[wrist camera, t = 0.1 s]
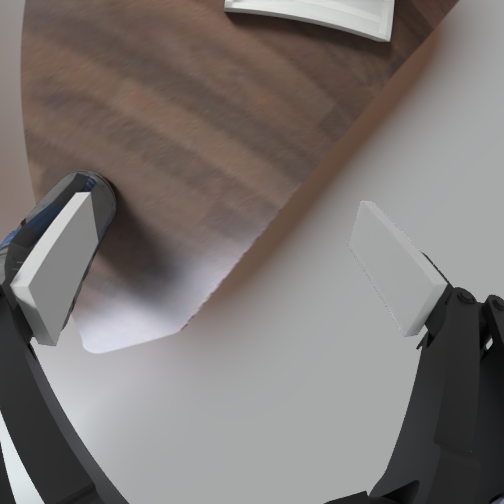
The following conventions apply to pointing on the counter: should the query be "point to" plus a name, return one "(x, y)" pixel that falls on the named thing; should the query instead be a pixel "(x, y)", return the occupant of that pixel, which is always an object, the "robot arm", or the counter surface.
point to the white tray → (327, 14)
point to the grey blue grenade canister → (46, 212)
